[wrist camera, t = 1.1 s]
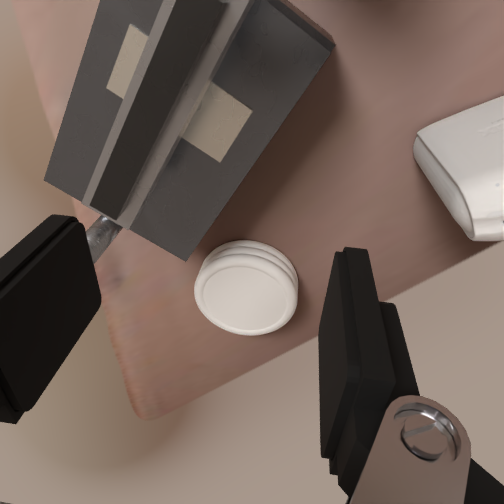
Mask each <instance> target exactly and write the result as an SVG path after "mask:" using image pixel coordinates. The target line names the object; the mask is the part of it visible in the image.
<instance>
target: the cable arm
mask: <svg viewBox="0 0 504 504" xmlns="http://www.w3.org/2000/svg"><path fill="white" fill-rule="evenodd" d="M254 1H255V0H163V2H162V5H161V7H160V10H159V12H158V15H157V17H156V20H155V22H154V25H153V27H152V30H151V32H150V35H149V37H148V39H147V42H146V44H145V47H144V49H143V52H142V54H141V57H140V59H139V62H138V64H137V67H136V69H135V72H134V74H133V77H132V79H131V81H130V84H129V86H128V89H127V91H126V94H125V96H124V99H123V101H122V104H121V106H120V109H119V111H118V114H117V116H116V119H115V121H114V123H113V126H112V128H111V131H110V133H109V136H108V138H107V141H106V143H105V146H104V148H103V151H102V153H101V156H100V158H99V161H98V163H97V166H96V168H95V170H94V173H93V175H92V178H91V180H90V183H89V185H88V188H87V190H86V193H85V195H84V198H83V200H82V204H83V205H85V206H87V207H89V208H90V209H92V210H94V211H96V212H97V213H99V214H101V215H103V216H104V217H106V218H108V219H110V220H111V221H113V222H115V223H116V224H118V225H120V226H122V227H123V228H125V229H127V230H129V229H130V227H131V226H132V225H133V223H134V222H135V221H136V219H137V218H138V217H139V216H140V214H141V212H142V211H143V209H144V207H145V205H146V203H147V201H148V199H149V197H150V196H151V194H152V192H153V190H154V188H155V186H156V184H157V183H158V181H159V179H160V177H161V175H162V173H163V171H164V169H165V168H166V166H167V164H168V162H169V160H170V158H171V156H172V154H173V153H174V151H175V149H176V147H177V145H178V143H179V141H180V140H181V138H182V136H183V134H184V132H185V130H186V128H187V126H188V125H189V123H190V121H191V119H192V117H193V115H194V113H195V111H196V110H197V108H198V106H199V104H200V102H201V100H202V98H203V96H204V95H205V93H206V91H207V89H208V87H209V85H210V83H211V82H212V80H213V78H214V76H215V74H216V72H217V70H218V68H219V67H220V65H221V63H222V61H223V59H224V57H225V55H226V53H227V52H228V50H229V48H230V46H231V44H232V42H233V40H234V39H235V37H236V35H237V33H238V31H239V29H240V27H241V25H242V24H243V22H244V20H245V18H246V16H247V14H248V12H249V10H250V9H251V7H252V5H253V3H254Z"/></svg>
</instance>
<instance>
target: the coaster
mask: <svg viewBox="0 0 504 504" xmlns="http://www.w3.org/2000/svg"><path fill="white" fill-rule="evenodd" d="M194 294H195V300H196V303H197V305H198V307H199V309H200V310H201V312H202V313H203V314H204V316H205V317H206V318H207V319H209V320H210V321H211V322H212V323H214V324H215V325H217V326H218V327H220V328H222V329H224V330H226V331H229V332H232V333H236V334H241V335H262V334H267V333H270V332H273V331H275V330H277V329H279V328H281V327H282V326H284V325H285V324H286V323H287V322H288V321H289V320H290V319H291V317H292V316H293V314H294V312H295V309H296V306H297V298H298V297H297V296H298V277H297V274H296V271H295V269H294V267H293V265H292V264H291V262H290V261H289V260H288V258H287V257H286V256H285V255H283V254H282V253H281V252H280V251H278V250H277V249H275V248H273V247H272V246H270V245H267V244H265V243H261V242H258V241H252V240H237V241H232V242H228V243H225V244H223V245H221V246H219V247H217V248H216V249H214V250H213V251H212V252H211V253H210V254H209V255H208V256H207V257H206V258H205V260H204V262H203V264H202V267H201V269H200V271H199V274H198V276H197V279H196V282H195V287H194Z"/></svg>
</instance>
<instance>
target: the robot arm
mask: <svg viewBox="0 0 504 504" xmlns="http://www.w3.org/2000/svg"><path fill="white" fill-rule="evenodd" d="M100 305H101V293H100V289H99V285H98V280H97V276H96V272H95V268H94V264H93V260H92V256H91V252H90V248H89V244H88V240H87V235H86V231H85V228H84V225H83V224H82V223H79V221H78V220H77V218H75V217H73V216H64V215H51V216H50V217H48V218H47V219H46V220H44V221H43V222H42V223H41V224H40V225H39V226H37V227H36V228H35V229H34V230H33V231H32V232H31V233H29V234H28V235H27V236H26V237H25V238H24V239H22V240H21V241H20V242H19V243H18V244H17V245H15V246H14V247H13V248H12V249H11V250H10V251H9V252H7V253H6V254H5V255H4V256H3V257H1V258H0V422H5V423H12V424H16V423H17V422H18V421H19V419H20V418H21V416H22V415H23V413H24V412H25V411H29V410H30V409H32V407H33V406H34V405H35V404H36V402H37V401H38V399H39V398H40V396H41V395H42V393H43V391H44V390H45V389H46V387H47V386H48V384H49V383H50V381H51V380H52V378H53V377H54V375H55V374H56V372H57V371H58V369H59V368H60V366H61V364H62V363H63V362H64V360H65V359H66V357H67V356H68V354H69V353H70V351H71V350H72V348H73V347H74V345H75V344H76V342H77V341H78V339H79V338H80V336H81V335H82V333H83V332H84V330H85V329H86V327H87V326H88V324H89V323H90V321H91V320H92V318H93V317H94V315H95V314H96V312H97V311H98V309H99V307H100ZM318 341H319V390H320V391H319V392H320V443H321V457H322V458H327V459H329V466H330V474H332V475H338V485H339V486H340V487H341V488H342V490H343V491H344V492H345V493H346V494H347V495H348V499H347V501H346V504H504V486H503V485H502V484H501V483H500V482H499V481H497V480H496V479H495V478H494V477H493V476H492V475H490V474H489V473H488V472H487V471H485V470H484V469H483V468H482V467H481V466H480V465H479V464H477V463H476V462H475V461H474V460H473V459H472V458H471V443H470V440H469V437H468V435H467V432H466V430H465V428H464V427H463V425H462V424H461V423H460V421H459V420H458V419H457V417H455V416H454V415H453V414H452V413H451V412H450V411H449V410H448V409H447V408H445V407H444V406H442V405H440V404H439V403H437V402H436V401H433V400H431V399H428V398H425V397H423V396H420V394H419V391H418V386H417V383H416V379H415V375H414V372H413V368H412V364H411V360H410V357H409V353H408V349H407V346H406V342H405V338H404V334H403V330H402V327H401V323H400V319H399V316H398V312H397V309H396V306H395V305H394V304H393V303H387V302H379V301H378V296H377V291H376V287H375V282H374V278H373V273H372V268H371V264H370V259H369V254H368V251H367V249H360V248H351V247H345V248H344V250H343V252H337V251H336V253H335V256H334V260H333V265H332V269H331V274H330V279H329V283H328V288H327V293H326V297H325V302H324V307H323V311H322V316H321V320H320V325H319V335H318ZM0 504H10V503H4V502H0Z"/></svg>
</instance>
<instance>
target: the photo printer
mask: <svg viewBox="0 0 504 504" xmlns="http://www.w3.org/2000/svg"><path fill="white" fill-rule="evenodd" d="M417 135H418V136H417V137H416V139H415V142H414V146H413V154H414V158H415V160H416V162H417V163H418V165H419V166H420V168H421V169H422V171H423V173H424V174H425V176H426V177H427V179H428V180H429V182H430V183H431V185H432V186H433V188H434V189H435V191H436V192H437V194H438V195H439V197H440V198H441V200H442V201H443V203H444V204H445V206H446V207H447V209H448V210H449V212H450V214H451V215H452V217H453V218H454V219H455V221H456V222H457V223H458V224H459V225H460V226H461V228H462V229H463V231H464V232H465V233H466V235H467V236H468V238H470V239H471V240H472V241H502V240H504V96H501V97H499V98H496V99H493V100H490V101H488V102H485V103H483V104H480V105H477V106H474V107H472V108H469V109H467V110H464V111H462V112H459V113H457V114H454V115H452V116H449V117H447V118H444V119H442V120H440V121H437V122H435V123H433V124H431V125H429V126H427V127H425V128H423V129H421V130H420V131H418V132H417Z"/></svg>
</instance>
